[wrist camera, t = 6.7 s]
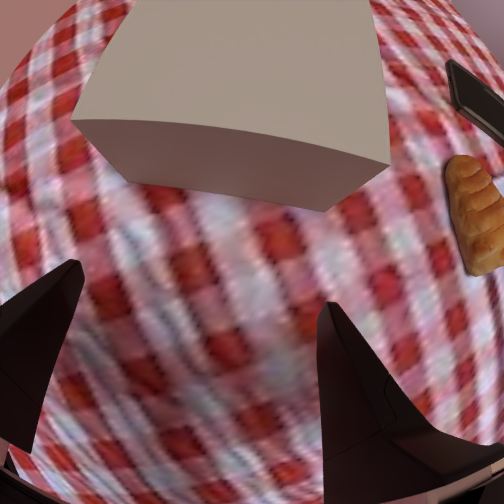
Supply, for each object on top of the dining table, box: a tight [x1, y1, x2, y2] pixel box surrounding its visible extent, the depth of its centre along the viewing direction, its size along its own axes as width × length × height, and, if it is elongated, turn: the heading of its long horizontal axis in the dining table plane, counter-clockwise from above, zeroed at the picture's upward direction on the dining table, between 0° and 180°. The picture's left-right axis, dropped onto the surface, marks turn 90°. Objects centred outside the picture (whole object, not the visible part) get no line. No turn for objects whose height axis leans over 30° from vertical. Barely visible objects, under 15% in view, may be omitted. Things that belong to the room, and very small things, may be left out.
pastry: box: [445, 155, 504, 277], centre depth 17 cm, size 9×7×4 cm
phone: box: [445, 59, 504, 148], centre depth 20 cm, size 8×1×15 cm
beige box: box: [70, 0, 390, 212], centre depth 14 cm, size 14×12×8 cm
